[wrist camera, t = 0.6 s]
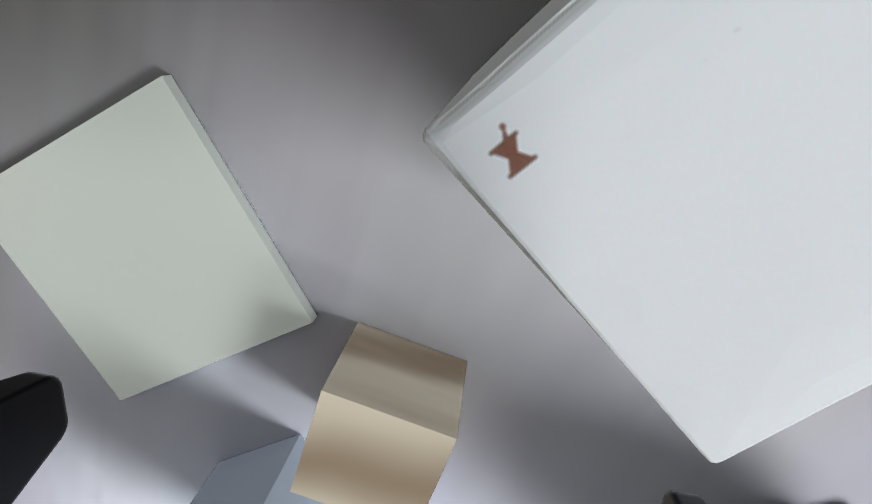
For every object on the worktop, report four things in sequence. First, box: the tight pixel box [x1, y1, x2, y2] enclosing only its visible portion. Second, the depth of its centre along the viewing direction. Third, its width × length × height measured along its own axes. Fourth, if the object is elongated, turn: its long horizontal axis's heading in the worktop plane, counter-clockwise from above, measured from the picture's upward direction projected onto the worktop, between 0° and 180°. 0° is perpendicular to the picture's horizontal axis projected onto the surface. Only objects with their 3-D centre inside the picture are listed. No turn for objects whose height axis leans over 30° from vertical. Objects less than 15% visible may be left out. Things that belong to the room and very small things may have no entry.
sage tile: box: [0, 75, 317, 401], centre depth 23 cm, size 11×11×1 cm
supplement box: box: [423, 0, 872, 463], centre depth 13 cm, size 7×7×13 cm
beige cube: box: [290, 322, 467, 504], centre depth 22 cm, size 5×5×5 cm
